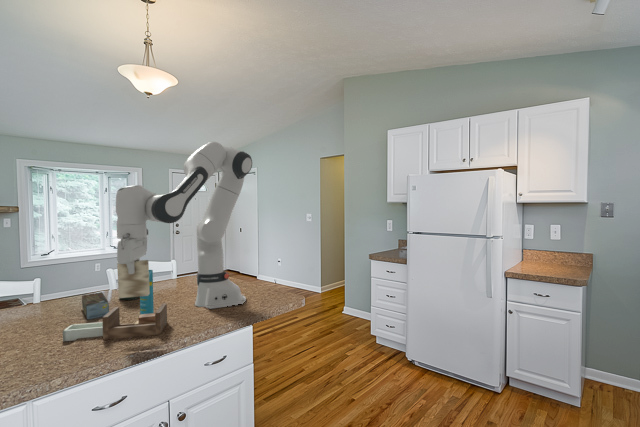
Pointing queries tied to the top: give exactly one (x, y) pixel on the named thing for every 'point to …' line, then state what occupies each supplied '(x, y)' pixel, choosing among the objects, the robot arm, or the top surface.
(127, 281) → the sheet
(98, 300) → the beverage carton
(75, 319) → the top surface
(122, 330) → the rack
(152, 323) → the block
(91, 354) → the top surface
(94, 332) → the tray
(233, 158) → the robot arm
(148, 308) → the tube
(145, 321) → the offcut short
